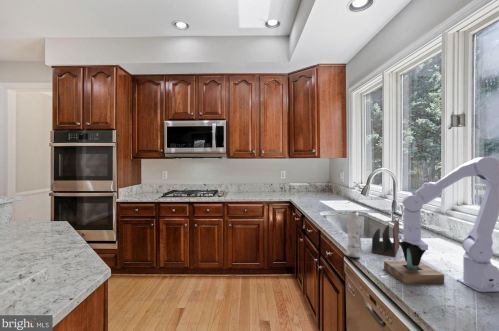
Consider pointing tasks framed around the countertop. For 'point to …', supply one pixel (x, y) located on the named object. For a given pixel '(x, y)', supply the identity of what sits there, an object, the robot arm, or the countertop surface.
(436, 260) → the countertop surface
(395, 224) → the letter holder
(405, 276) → the socket block
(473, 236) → the robot arm
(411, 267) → the peg
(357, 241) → the plastic bottle
